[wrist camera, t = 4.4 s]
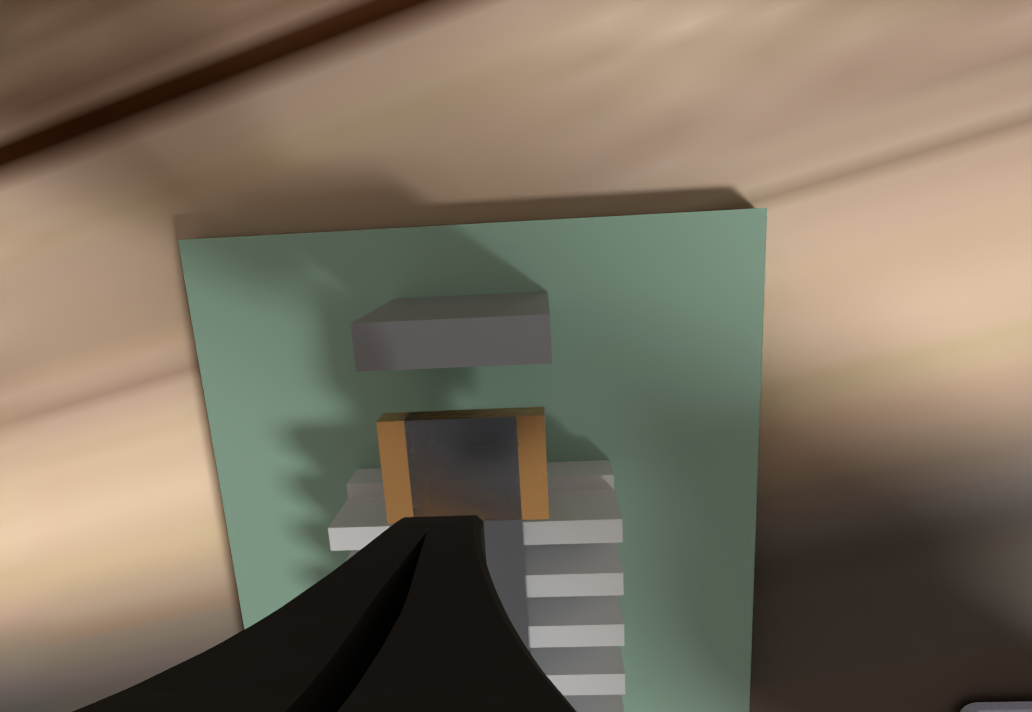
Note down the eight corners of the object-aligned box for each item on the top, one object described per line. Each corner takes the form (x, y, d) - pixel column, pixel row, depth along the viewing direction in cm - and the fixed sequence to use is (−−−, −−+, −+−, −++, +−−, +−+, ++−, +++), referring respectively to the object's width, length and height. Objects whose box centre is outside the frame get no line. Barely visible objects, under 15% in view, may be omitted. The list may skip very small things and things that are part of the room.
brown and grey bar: (564, 839, 17) (566, 912, 15) (435, 841, 17) (424, 912, 16) (543, 398, 14) (544, 425, 12) (389, 404, 14) (368, 432, 13)
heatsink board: (736, 828, 20) (795, 1011, 16) (292, 831, 21) (221, 1006, 16) (756, 208, 16) (846, 204, 11) (194, 238, 17) (60, 247, 12)
